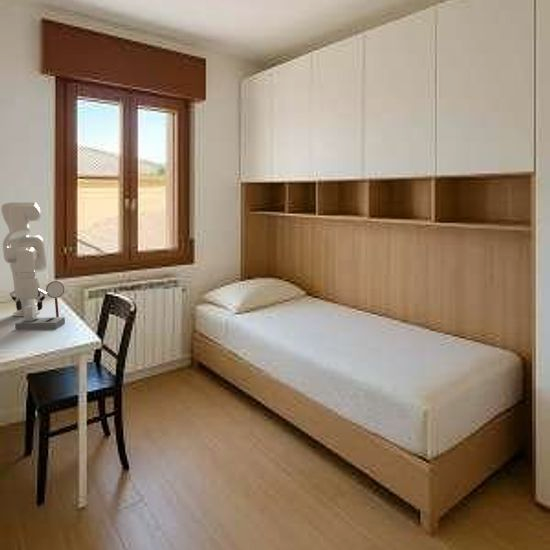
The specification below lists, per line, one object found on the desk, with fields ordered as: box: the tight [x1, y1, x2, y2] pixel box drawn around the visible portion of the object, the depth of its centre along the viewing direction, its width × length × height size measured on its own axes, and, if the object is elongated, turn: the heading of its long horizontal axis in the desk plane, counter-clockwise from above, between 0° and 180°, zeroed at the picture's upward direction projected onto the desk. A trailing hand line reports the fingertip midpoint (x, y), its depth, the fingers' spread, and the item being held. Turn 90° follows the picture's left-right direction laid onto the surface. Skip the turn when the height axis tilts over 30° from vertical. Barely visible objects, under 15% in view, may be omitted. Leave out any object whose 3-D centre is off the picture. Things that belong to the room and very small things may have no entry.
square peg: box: [23, 305, 38, 322], centre depth 235 cm, size 4×4×10 cm
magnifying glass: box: [45, 280, 65, 317], centre depth 247 cm, size 9×2×20 cm, turn 126°
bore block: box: [14, 316, 66, 330], centre depth 236 cm, size 11×19×3 cm, turn 93°
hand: (29, 309), depth 235 cm, fingers open, 9 cm apart
